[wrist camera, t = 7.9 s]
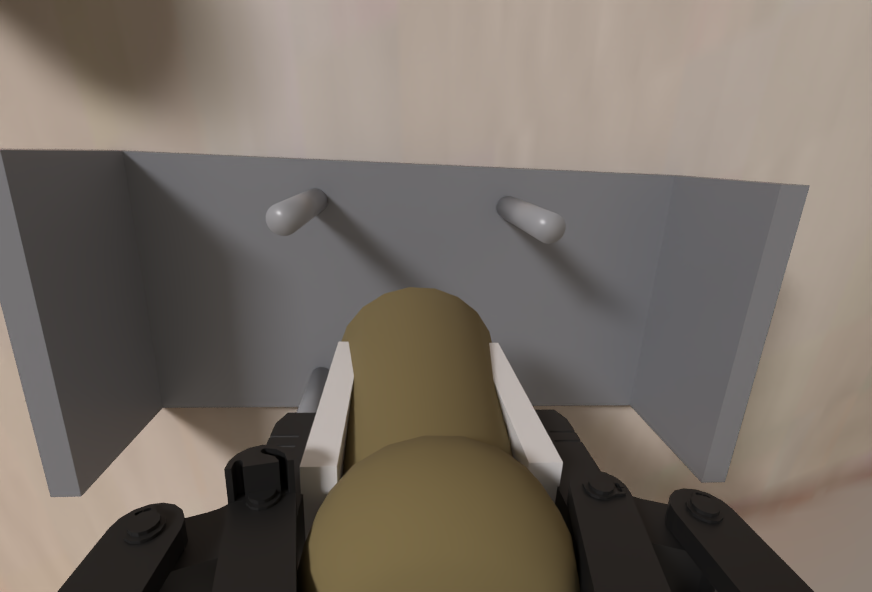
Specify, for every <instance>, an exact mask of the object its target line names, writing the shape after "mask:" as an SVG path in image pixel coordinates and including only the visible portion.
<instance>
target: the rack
mask: <svg viewBox="0 0 872 592" xmlns="http://www.w3.org/2000/svg"><path fill="white" fill-rule="evenodd" d="M808 190H809V185H796V184H783V183H771V182H758V181H745V180H733V179H720V178H707V177H695V176H680V175H657V174H635V173H613V172H591V171H568V170H546V169H524V168H501V167H479V166H457V165H435V164H412V163H390V162H368V161H346V160H323V159H301V158H279V157H257V156H234V155H212V154H190V153H167V152H145V151H123V150H75V149H0V303H1V307H2V310H3V314H4V318H5V322H6V326H7V330H8V334H9V337H10V341H11V345H12V349H13V353H14V357H15V361H16V365H17V368H18V372H19V376H20V380H21V384H22V388H23V392H24V395H25V399H26V403H27V407H28V411H29V415H30V419H31V423H32V426H33V430H34V434H35V438H36V442H37V446H38V450H39V453H40V457H41V461H42V465H43V469H44V473H45V477H46V480H47V484H48V488H49V492H50V496H51V497H75V496H82V495H83V494H84V493H85V492H86V491H87V489H88V488H89V487H90V486H91V485H92V484H93V483H94V482H95V481H96V480H97V479H98V478H99V476H100V475H101V474H102V473H103V472H104V471H105V470H106V469H107V468H108V467H109V466H110V464H111V463H112V462H113V461H114V460H115V459H116V458H117V457H118V456H119V455H120V454H121V452H122V451H123V450H124V449H125V448H126V447H127V446H128V445H129V444H130V443H131V442H132V440H133V439H134V438H135V437H136V436H137V435H138V434H139V433H140V432H141V431H142V430H143V429H144V427H145V426H146V425H147V424H148V423H149V422H150V421H151V420H152V419H153V418H154V417H155V415H156V414H157V413H158V412H159V411H160V410H161V409H162V408H188V407H298V410H297V413H316V412H317V409H318V406H319V403H320V399H321V396H322V393H323V390H324V386H325V383H326V380H327V377H328V374H329V370H330V367H331V364H332V361H333V358H334V354H335V351H336V348H337V345H338V342H341V341H342V338H343V335H344V333H345V330H346V327H347V325H348V324H349V323H350V322H351V321H352V319H353V318H354V317H355V316H356V315H357V313H358V312H359V311H360V310H361V309H362V307H364V306H365V305H367V304H369V303H370V302H372V301H373V300H375V299H377V298H378V297H380V296H381V295H383V294H385V293H389V292H393V291H397V290H400V289H404V288H408V287H416V288H435V289H438V290H441V291H443V292H446V293H449V294H451V295H454V296H457V297H459V298H460V299H461V300H463V301H464V302H465V303H466V304H468V305H469V306H470V307H471V308H473V309H474V310H475V311H476V312H477V313H478V314H479V316H480V317H481V319H482V321H483V322H484V324H485V325H486V327H487V329H488V330H489V332H490V336H491V341H492V343H499V345H500V347H501V349H502V351H503V353H504V354H505V356H506V358H507V360H508V362H509V364H510V366H511V367H512V369H513V371H514V373H515V375H516V377H517V378H518V380H519V382H520V384H521V386H522V388H523V389H524V391H525V393H526V395H527V397H528V399H529V401H530V402H531V404H532V406H570V405H630V406H631V407H632V408H633V409H634V410H635V411H636V412H637V413H638V414H639V415H640V417H641V418H642V419H643V420H644V421H645V422H646V423H647V424H648V425H649V426H650V427H651V428H652V430H653V431H654V432H655V433H656V434H657V435H658V436H659V437H660V438H661V439H662V440H663V441H664V442H665V444H666V445H667V446H668V447H669V448H670V449H671V450H672V451H673V452H674V453H675V454H676V455H677V457H678V458H679V459H680V460H681V461H682V462H683V463H684V464H685V465H686V466H687V467H688V468H689V469H690V471H691V472H692V473H693V474H694V475H695V476H696V477H697V478H698V479H699V480H700V481H701V482H702V483H703V482H725V480H726V476H727V473H728V469H729V466H730V462H731V459H732V455H733V452H734V448H735V445H736V441H737V438H738V434H739V431H740V427H741V424H742V420H743V417H744V413H745V410H746V406H747V403H748V399H749V396H750V392H751V389H752V385H753V382H754V378H755V375H756V371H757V368H758V364H759V361H760V357H761V354H762V350H763V347H764V343H765V340H766V336H767V333H768V329H769V326H770V322H771V319H772V315H773V312H774V308H775V305H776V301H777V298H778V294H779V291H780V287H781V284H782V280H783V277H784V273H785V270H786V267H787V263H788V260H789V256H790V253H791V249H792V246H793V242H794V239H795V235H796V232H797V228H798V225H799V221H800V218H801V214H802V211H803V207H804V204H805V200H806V197H807V193H808Z"/></svg>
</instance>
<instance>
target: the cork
mask: <svg viewBox="0 0 872 592" xmlns="http://www.w3.org/2000/svg"><path fill="white" fill-rule="evenodd" d="M341 342H349V348H350V354H351V361H352V367H353V373H354V380H353V388H352V395H351V402H350V410H349V419H348V428H347V437H346V447H345V456H344V465H343V474H342V478H341V479H340V480H339V481H338V482H337V484H336V485H335V486H334V487H333V488H332V489H331V490H330V491H329V493H328V495H327V496H326V498H325V500H324V501H323V503H322V505H321V506H320V508H319V510H318V512H317V514H316V516H315V519H314V521H313V524H312V526H311V529H310V531H309V534H308V536H307V539H306V541H305V544H304V547H303V551H302V555H301V559H300V563H299V566H298V592H580V583H579V577H578V571H577V565H576V559H575V553H574V548H573V543H572V537H571V534H570V532H569V530H568V528H567V526H566V523H565V521H564V519H563V517H562V515H561V513H560V511H559V509H558V508H557V506H556V505H555V503H554V502H553V501H552V499H551V498H550V496H549V495H548V493H547V492H546V490H545V489H544V487H543V486H542V484H541V483H540V482H539V480H538V479H537V478H536V477H535V476H534V475H533V474H532V473H531V472H530V471H529V470H528V469H527V467H526V466H524V465H523V464H521V463H520V462H519V461H517V460H516V459H514V458H513V455H512V450H511V445H510V440H509V435H508V431H507V428H506V424H505V420H504V417H503V413H502V410H501V406H500V402H499V399H498V395H497V391H496V388H495V384H494V380H493V372H492V364H491V355H490V346H489V343H492V341H491V336H490V332H489V330H488V329H487V327H486V325H485V324H484V322H483V321H482V319H481V317H480V316H479V314H478V313H477V312H476V311H475V310H474V309H473V308H471V307H470V306H469V305H468V304H466V303H465V302H464V301H463V300H461V299H460V298H459V297H457V296H454V295H451V294H449V293H446V292H443V291H441V290H438V289H435V288H416V287H408V288H404V289H400V290H397V291H393V292H389V293H385V294H383V295H381V296H380V297H378V298H377V299H375V300H373V301H372V302H370V303H369V304H367V305H365V306H364V307H362V309H361V310H360V311H359V312H358V313H357V315H356V316H355V317H354V318H353V319H352V321H351V322H350V323H349V324H348V325H347V327H346V330H345V333H344V335H343V338H342V341H341Z"/></svg>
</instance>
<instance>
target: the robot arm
mask: <svg viewBox="0 0 872 592" xmlns="http://www.w3.org/2000/svg"><path fill="white" fill-rule="evenodd" d="M489 346H490V355H491V364H492V372H493V380H494V384H495V388H496V391H497V395H498V399H499V402H500V406H501V410H502V413H503V417H504V420H505V424H506V428H507V431H508V435H509V440H510V445H511V450H512V455H513V458H514V459H516V460H517V461H519V462H520V463H521V464H523V465H524V466H526V467H527V469H528V470H529V471H530V472H531V473H532V474H533V475H534V476H535V477H536V478H537V479H538V480H539V482H540V483H541V484H542V486H543V487H544V489H545V490H546V492H547V493H548V495H549V496H550V498H551V499H552V501H553V502H554V503H555V505H556V506H557V508H558V509H559V511H560V513H561V515H562V517H563V519H564V521H565V523H566V526H567V528H568V530H569V532H570V534H571V537H572V543H573V548H574V553H575V559H576V565H577V571H578V577H579V583H580V592H814V591H813V590H812V589H811V588H810V587H809V586H808V585H807V584H806V583H805V582H804V581H803V580H802V579H801V578H800V577H799V576H798V575H797V574H796V573H795V572H794V571H793V570H792V569H791V568H790V567H789V566H788V565H787V564H786V563H785V562H784V561H783V560H782V559H781V558H780V557H779V556H778V555H777V554H776V553H775V552H774V551H773V550H772V549H771V548H770V547H769V546H768V545H767V544H766V543H765V542H764V541H763V540H762V539H761V538H760V537H759V536H758V535H757V534H756V533H755V532H754V531H753V530H752V529H751V527H750V526H749V525H748V524H747V523H746V522H745V521H744V520H743V519H742V518H741V517H740V516H739V515H738V514H737V513H736V512H735V511H734V510H733V509H732V508H730V507H729V506H728V505H727V504H725V503H724V502H723V501H722V500H720V499H718V498H716V497H714V496H712V495H710V494H708V493H705V492H702V491H699V490H695V489H680V490H675V491H674V492H673V493H672V494H671V495H670V498H669V502H668V505H667V504H663V503H658V502H653V501H648V500H644V499H640V498H636V497H633V496H632V495H631V493H630V491H629V490H628V488H627V487H626V485H625V484H623V483H622V482H621V481H620V480H618V479H617V478H616V477H614V476H611V475H609V474H607V473H605V472H601V471H600V469H599V468H598V466H597V465H596V463H595V462H594V460H593V459H592V457H591V455H590V454H589V452H588V451H587V449H586V448H585V446H584V445H583V443H582V442H580V438H579V437H578V435H577V434H576V433H575V432H574V429H573V428H572V426H571V425H570V423H569V421H568V420H567V419H566V418H565V417H563V416H562V415H561V414H559V413H558V412H557V411H555V410H534V408H533V406H532V404H531V402H530V401H529V399H528V397H527V395H526V393H525V391H524V389H523V388H522V386H521V384H520V382H519V380H518V378H517V377H516V375H515V373H514V371H513V369H512V367H511V366H510V364H509V362H508V360H507V358H506V356H505V354H504V353H503V351H502V349H501V347H500V345H499V343H489ZM353 380H354V373H353V367H352V361H351V354H350V348H349V342H338V345H337V348H336V351H335V354H334V358H333V361H332V364H331V367H330V370H329V374H328V377H327V380H326V383H325V386H324V390H323V393H322V396H321V399H320V403H319V406H318V409H317V412H316V413H287V414H286V415H285V416H284V417H283V418H281V419H280V420H279V421H278V422H277V423H276V424H275V427H274V429H273V431H272V433H271V437H270V438H269V440H268V442H267V444H266V445H260V446H256V447H252V448H248V449H246V450H244V451H242V452H240V453H238V454H237V455H235V456H234V457H233V458H232V459H231V460H230V461H229V462H228V464H227V466H226V467H225V469H224V470H225V479H226V488H227V497H228V505H226V506H224V507H222V508H220V509H217V510H214V511H211V512H208V513H204V514H200V515H196V516H192V517H188V518H184V514H183V510H182V509H181V508H179V507H178V506H176V505H175V504H168V503H158V504H150V505H147V506H144V507H141V508H138V509H135V510H133V511H131V512H130V513H128V514H126V515H125V516H123V517H121V518H120V519H118V520H117V521H116V522H115V523H114V524H113V525H112V526H111V527H110V528H109V529H108V530H107V531H106V533H105V534H104V535H103V536H102V538H101V539H100V540H99V541H98V542H97V544H96V545H95V546H94V547H93V549H92V550H91V551H90V552H89V554H88V555H87V556H86V557H85V558H84V560H83V561H82V562H81V563H80V565H79V566H78V567H77V568H76V570H75V571H74V572H73V573H72V574H71V576H70V577H69V578H68V579H67V581H66V582H65V583H64V584H63V586H62V587H61V588H60V589H59V590H58V592H298V566H299V563H300V559H301V555H302V551H303V547H304V544H305V541H306V539H307V536H308V534H309V531H310V529H311V526H312V524H313V521H314V519H315V516H316V514H317V512H318V510H319V508H320V506H321V505H322V503H323V501H324V500H325V498H326V496H327V495H328V493H329V491H330V490H331V489H332V488H333V487H334V486H335V485H336V484H337V482H338V481H339V480H340V479H341V478H342V474H343V465H344V456H345V447H346V437H347V428H348V419H349V410H350V402H351V395H352V388H353Z"/></svg>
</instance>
